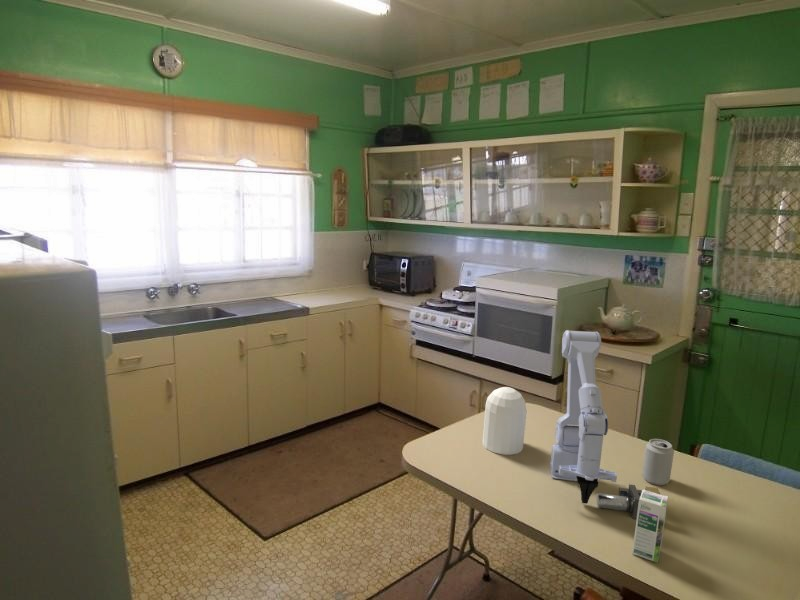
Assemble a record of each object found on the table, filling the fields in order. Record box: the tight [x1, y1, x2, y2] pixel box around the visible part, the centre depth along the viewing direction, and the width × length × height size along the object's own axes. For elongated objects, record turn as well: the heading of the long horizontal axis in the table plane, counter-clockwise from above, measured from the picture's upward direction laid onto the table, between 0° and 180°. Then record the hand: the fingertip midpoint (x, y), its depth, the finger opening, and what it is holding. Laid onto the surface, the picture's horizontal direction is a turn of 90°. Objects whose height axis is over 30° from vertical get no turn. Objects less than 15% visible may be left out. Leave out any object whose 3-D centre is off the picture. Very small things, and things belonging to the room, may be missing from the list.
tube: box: [596, 492, 634, 513], centre depth 145 cm, size 12×4×4 cm, turn 79°
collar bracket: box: [617, 484, 661, 520], centre depth 145 cm, size 10×10×6 cm
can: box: [641, 438, 675, 486], centre depth 160 cm, size 8×8×12 cm
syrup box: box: [631, 489, 669, 563], centre depth 127 cm, size 6×6×14 cm
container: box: [482, 386, 527, 456], centre depth 178 cm, size 14×13×20 cm
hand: (584, 501), depth 147 cm, fingers closed
